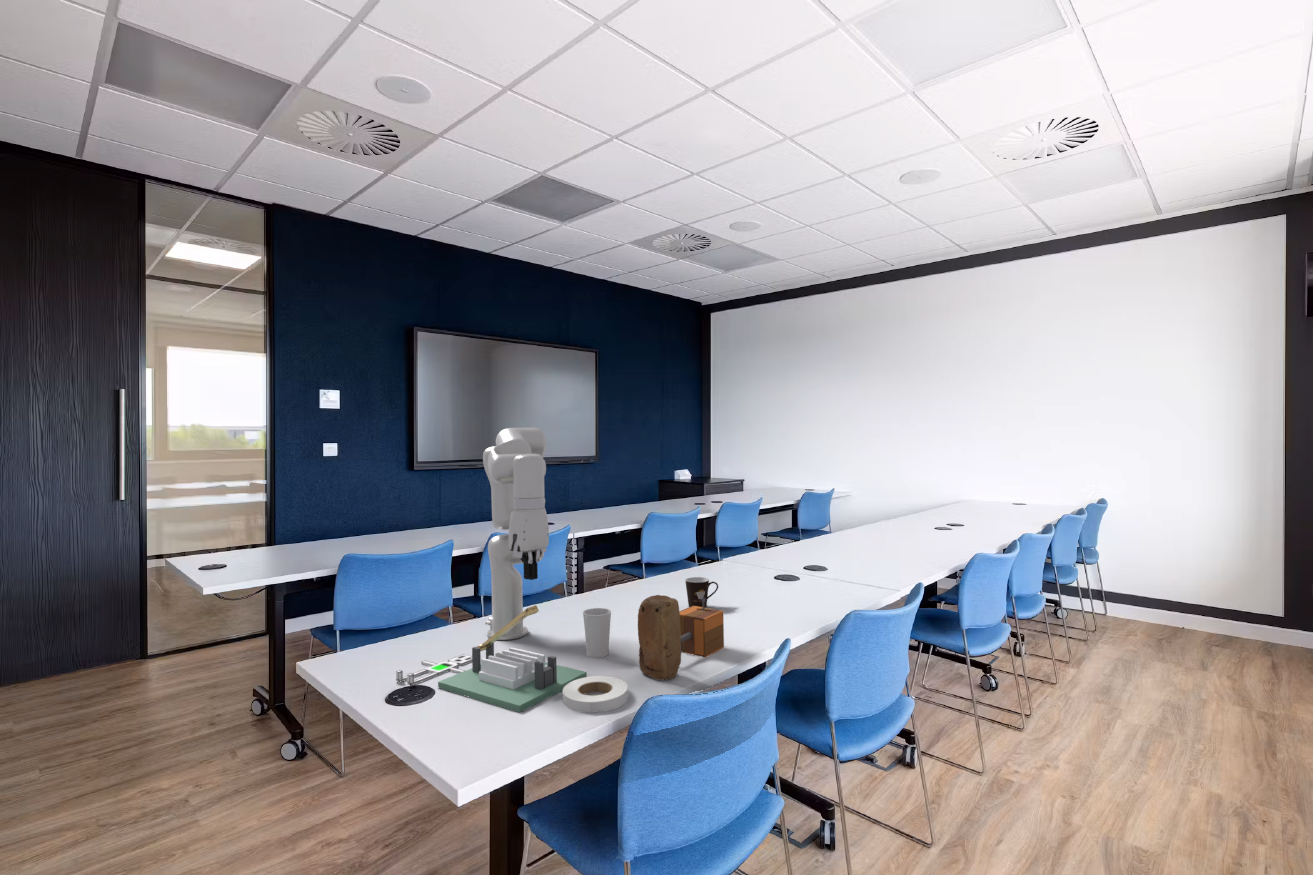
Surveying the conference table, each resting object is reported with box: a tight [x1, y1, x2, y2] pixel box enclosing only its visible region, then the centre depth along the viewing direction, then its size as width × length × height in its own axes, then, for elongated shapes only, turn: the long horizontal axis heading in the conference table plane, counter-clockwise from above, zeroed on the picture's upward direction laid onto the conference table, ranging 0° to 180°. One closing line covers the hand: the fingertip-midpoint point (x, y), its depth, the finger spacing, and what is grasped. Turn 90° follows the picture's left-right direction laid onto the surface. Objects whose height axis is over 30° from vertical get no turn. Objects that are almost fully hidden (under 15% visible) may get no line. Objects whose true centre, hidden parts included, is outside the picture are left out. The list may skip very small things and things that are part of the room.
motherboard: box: [437, 642, 588, 713], centre depth 161 cm, size 28×24×8 cm
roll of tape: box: [562, 675, 629, 713], centre depth 151 cm, size 16×15×3 cm
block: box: [637, 594, 682, 681], centre depth 165 cm, size 11×8×20 cm
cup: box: [582, 607, 612, 659], centre depth 182 cm, size 8×8×12 cm
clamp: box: [679, 598, 725, 658], centre depth 181 cm, size 11×20×14 cm, turn 143°
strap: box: [476, 605, 540, 653], centre depth 163 cm, size 23×3×2 cm
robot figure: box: [395, 653, 472, 687], centre depth 171 cm, size 16×3×22 cm
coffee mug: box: [684, 576, 719, 608], centre depth 230 cm, size 12×9×10 cm
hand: (530, 578), depth 158 cm, fingers closed
